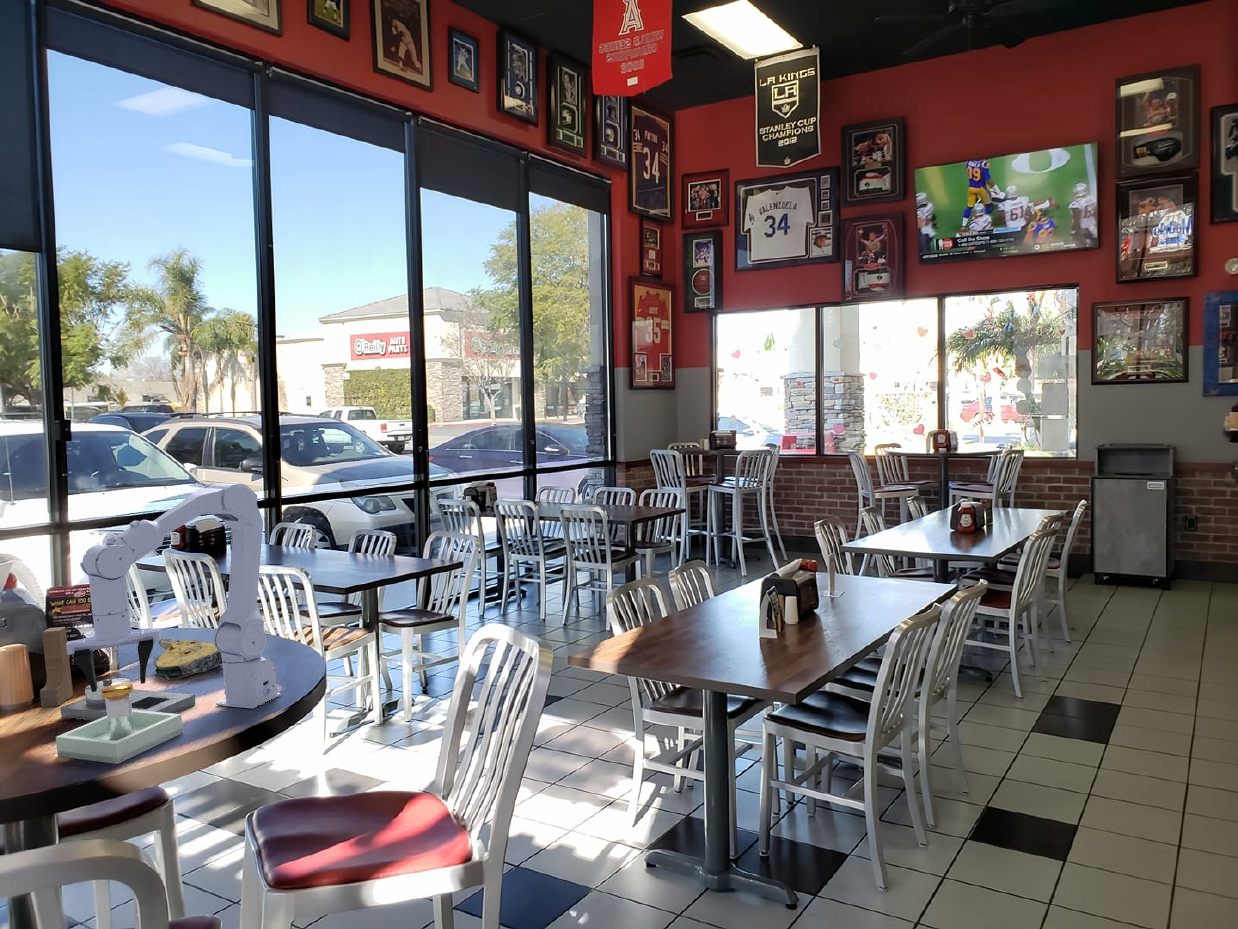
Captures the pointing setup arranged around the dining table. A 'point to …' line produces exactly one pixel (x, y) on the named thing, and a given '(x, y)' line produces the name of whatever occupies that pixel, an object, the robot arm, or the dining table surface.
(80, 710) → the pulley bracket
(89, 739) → the tray
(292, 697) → the dining table surface
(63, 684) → the wooden block
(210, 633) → the dining table surface
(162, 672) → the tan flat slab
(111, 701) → the pin
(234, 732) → the dining table surface
